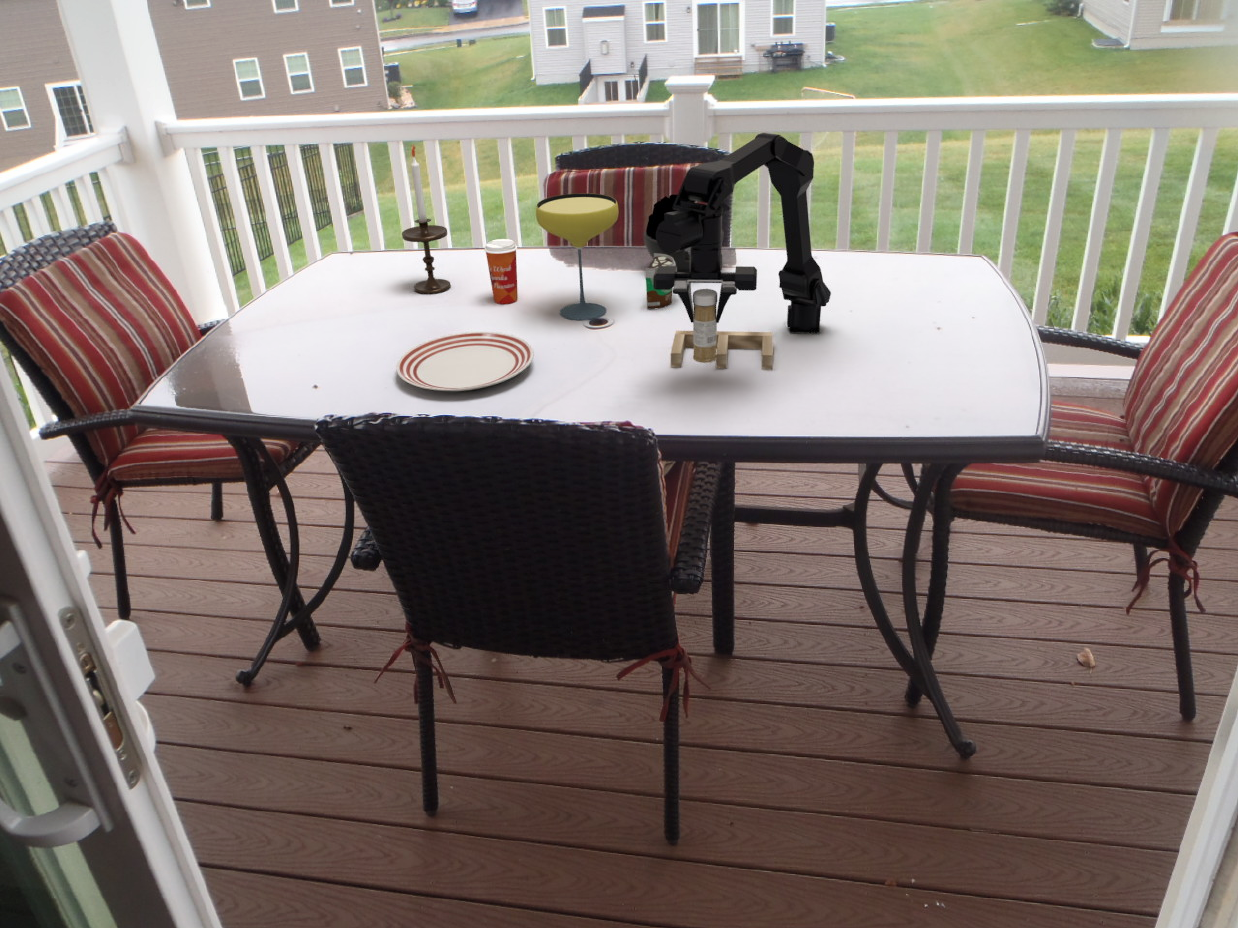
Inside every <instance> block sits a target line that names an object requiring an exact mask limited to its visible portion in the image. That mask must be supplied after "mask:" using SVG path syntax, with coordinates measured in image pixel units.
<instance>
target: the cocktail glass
mask: <svg viewBox="0 0 1238 928" xmlns="http://www.w3.org/2000/svg"><path fill="white" fill-rule="evenodd" d="M535 217H536V222H537V224H538V225H539V226H540V227H541V228H542V229H543V230H544V231H546V232H547V233H550V234H552V235H554V236H556V237H558V238H561V239H564V240H566V241H568V242H569V243H570V244H571V246H573V248H574V249H576V250H577V252H578V254H577V255H578V270H579V273H578V274H579V302H578V303H577V302H575V303H571V304H568V305H566V306H563V307H562V308H561V309H560V310H559V315H560V317H562V318H564V319H567V320H571V321H589V320H594V319H598V318H600V317H603V316H604V315H606V313H607V308H606V307H605V306H604V305H603V304H600V303H595V302H586V298H585V294H584V293H585V291H584V280H583V279H584V278H583V277H584V276H583V265H582V250H583V249H584V248H585V246H587V244H588V243H589V241H590V240H591V239H593V238H594V237H596V236H598V235H601V234H602V233H605V232H606V231H607V230H609V229H610V228H611V227H613V225H614V224H615V223H616V222H617V220H618V219H619V205H618V201H617V199H616V198H614V197H612V196H610V195H607V194H600V193H590V192H589V193H582V192H581V193H580V192H578V193H566V194H559V195H554V196H550V197H547V198H543V199H542V200H539V201H538V202H537V204H536V205H535Z"/></svg>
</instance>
